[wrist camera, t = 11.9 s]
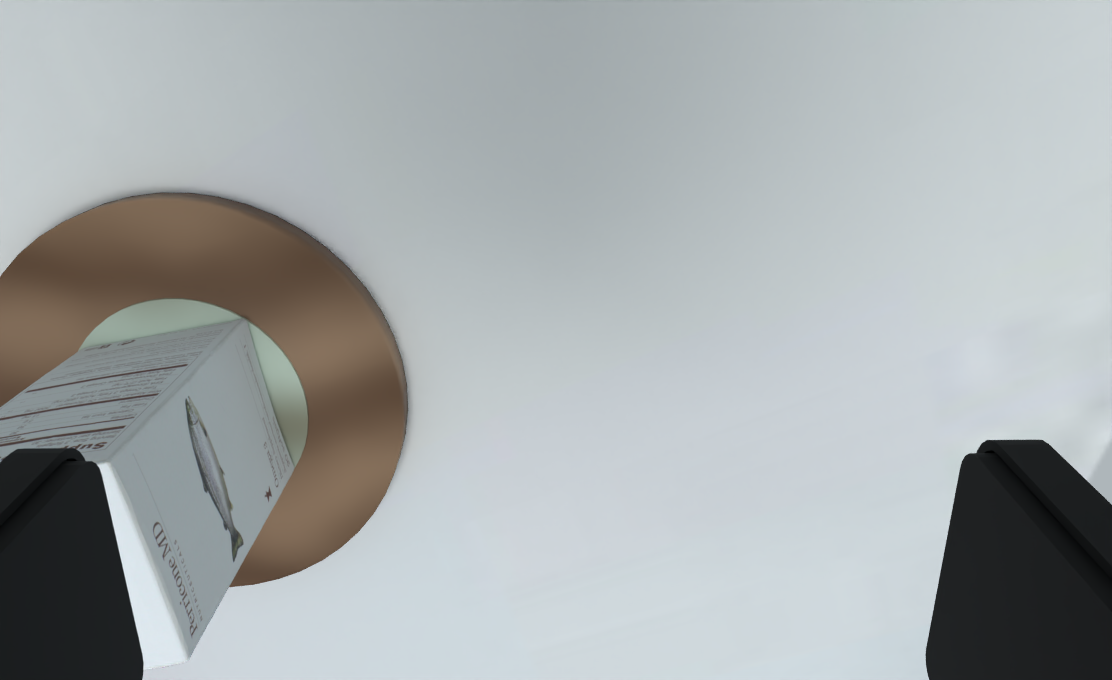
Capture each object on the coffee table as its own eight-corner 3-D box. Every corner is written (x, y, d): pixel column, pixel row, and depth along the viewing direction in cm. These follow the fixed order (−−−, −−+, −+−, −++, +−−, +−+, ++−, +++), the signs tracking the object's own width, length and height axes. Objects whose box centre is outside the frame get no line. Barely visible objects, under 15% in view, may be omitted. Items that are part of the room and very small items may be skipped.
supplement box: (300, 470, 40) (194, 673, 28) (136, 496, 40) (-37, 706, 28) (251, 311, 37) (111, 460, 25) (77, 341, 38) (-142, 501, 26)
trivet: (-59, 204, 37) (-86, 214, 36) (381, 180, 37) (374, 188, 35) (51, 577, 44) (32, 599, 42) (428, 558, 43) (423, 580, 42)
